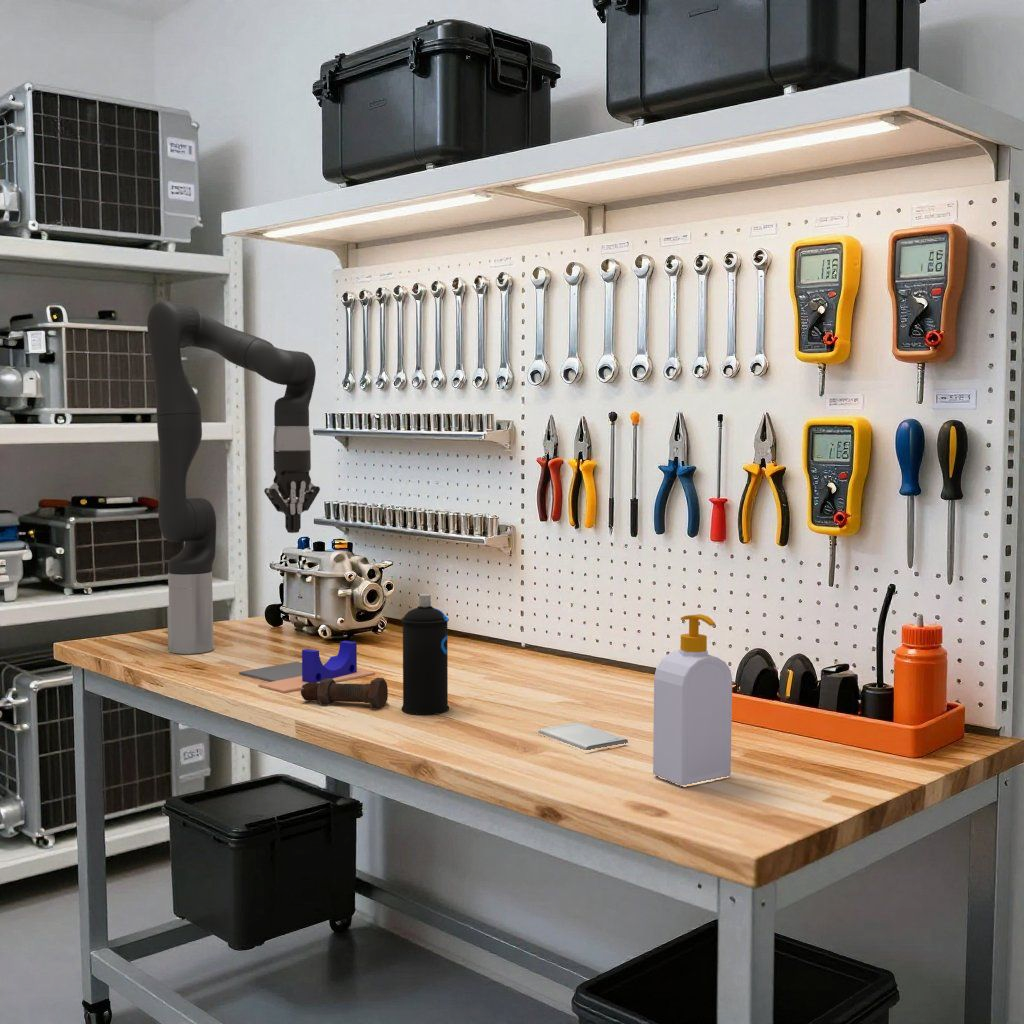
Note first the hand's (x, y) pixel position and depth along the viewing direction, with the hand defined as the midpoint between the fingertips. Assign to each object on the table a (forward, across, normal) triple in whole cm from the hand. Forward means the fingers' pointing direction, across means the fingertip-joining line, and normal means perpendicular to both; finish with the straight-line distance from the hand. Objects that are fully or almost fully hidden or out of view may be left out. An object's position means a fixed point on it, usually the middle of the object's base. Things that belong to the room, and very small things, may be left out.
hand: (293, 532), depth 237 cm
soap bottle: (+27, +12, +106) cm, 110 cm away
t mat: (+27, +8, +12) cm, 31 cm away
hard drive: (+28, +7, +82) cm, 87 cm away
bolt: (+27, +17, +36) cm, 49 cm away
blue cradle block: (+27, +6, +18) cm, 33 cm away
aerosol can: (+27, +10, +50) cm, 58 cm away
